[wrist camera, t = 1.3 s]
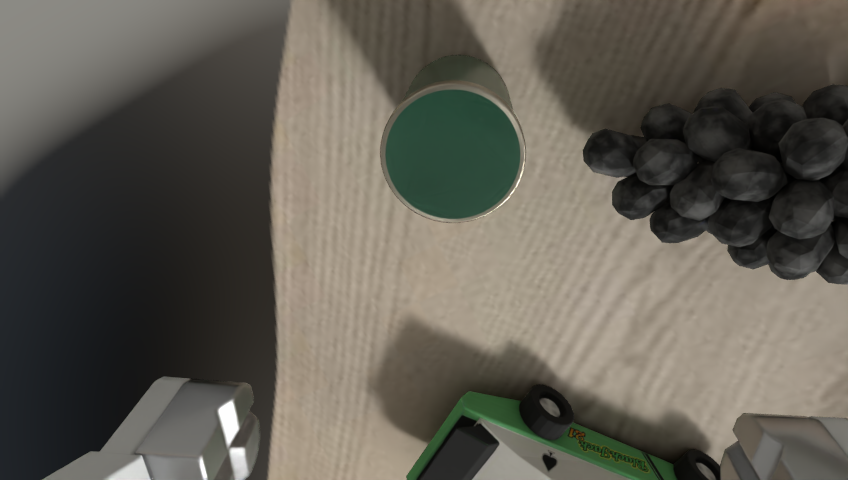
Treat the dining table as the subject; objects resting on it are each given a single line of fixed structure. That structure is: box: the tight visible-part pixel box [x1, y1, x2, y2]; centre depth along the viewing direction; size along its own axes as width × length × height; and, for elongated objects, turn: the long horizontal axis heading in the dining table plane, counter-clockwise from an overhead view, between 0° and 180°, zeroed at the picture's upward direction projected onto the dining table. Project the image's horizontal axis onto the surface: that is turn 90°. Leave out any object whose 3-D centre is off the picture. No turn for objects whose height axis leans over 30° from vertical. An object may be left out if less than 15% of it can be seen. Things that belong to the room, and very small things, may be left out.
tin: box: [380, 55, 526, 223], centre depth 21 cm, size 5×5×7 cm
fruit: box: [583, 84, 848, 284], centre depth 20 cm, size 9×8×15 cm
